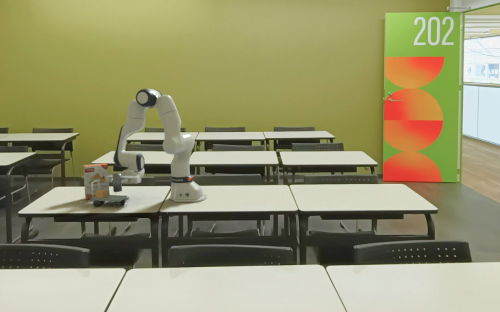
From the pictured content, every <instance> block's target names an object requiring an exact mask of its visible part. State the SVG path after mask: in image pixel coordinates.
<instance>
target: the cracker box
mask: <svg viewBox="0 0 500 312" xmlns="http://www.w3.org/2000/svg"><path fill="white" fill-rule="evenodd" d="M82 166H83V168H82V169H83V184H84V195H85V196H84V198H85V200H87V201H88V200H91V198H92V191H91V182H93V181H95V180H98V179H99V180H100V190H107V195H111V194H110V182H106V176H107V175H109V165H108V163H105V162H104V163H92V164H83V165H82ZM97 190H98V181H97V182H95V183H93V193H94V197H95V191H97Z"/></svg>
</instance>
